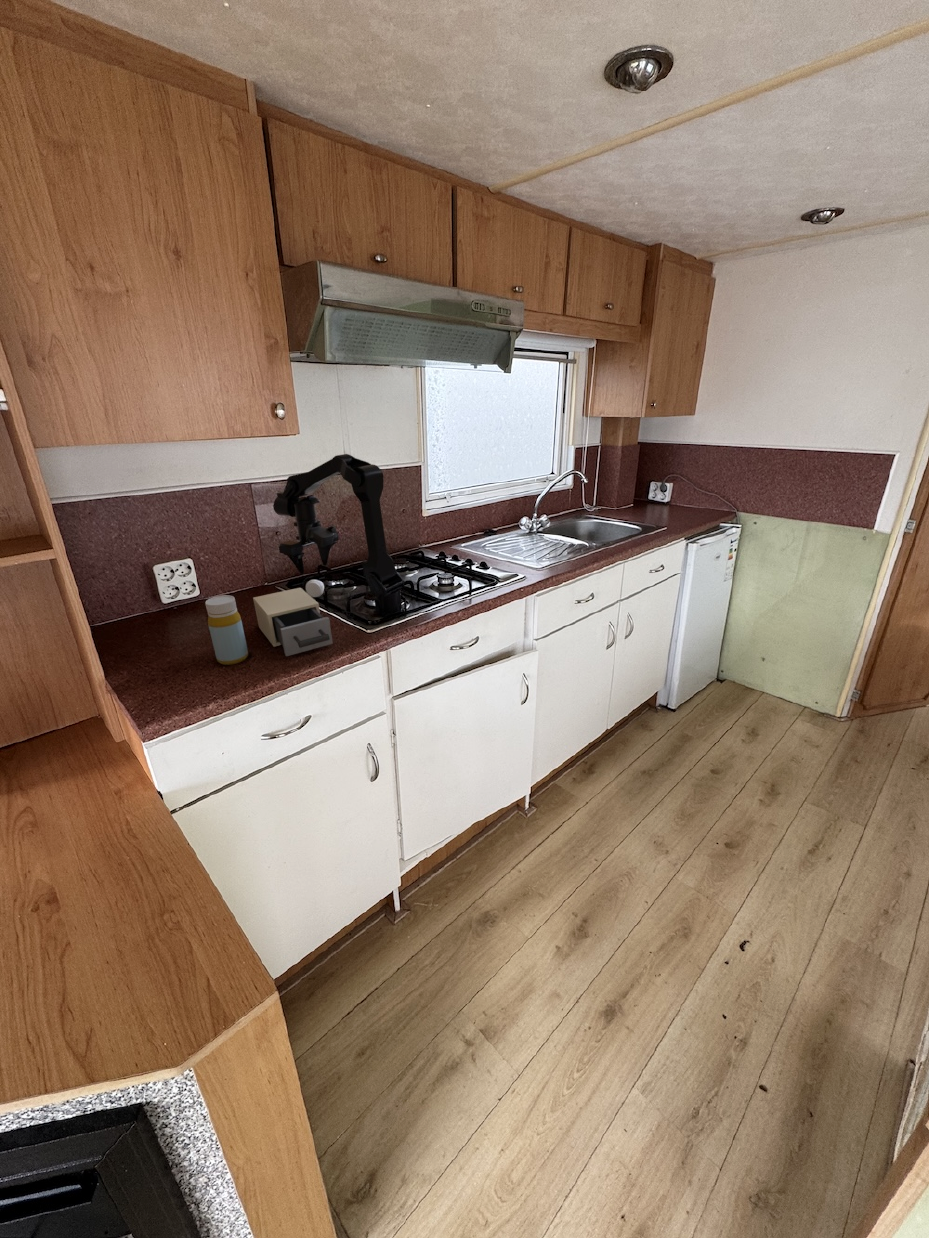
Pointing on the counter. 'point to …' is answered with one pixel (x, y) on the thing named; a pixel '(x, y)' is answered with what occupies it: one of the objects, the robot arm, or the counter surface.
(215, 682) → the counter surface
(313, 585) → the garlic bulb
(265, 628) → the small drawer cabinet
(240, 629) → the bottle
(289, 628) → the grey drawer with handle
